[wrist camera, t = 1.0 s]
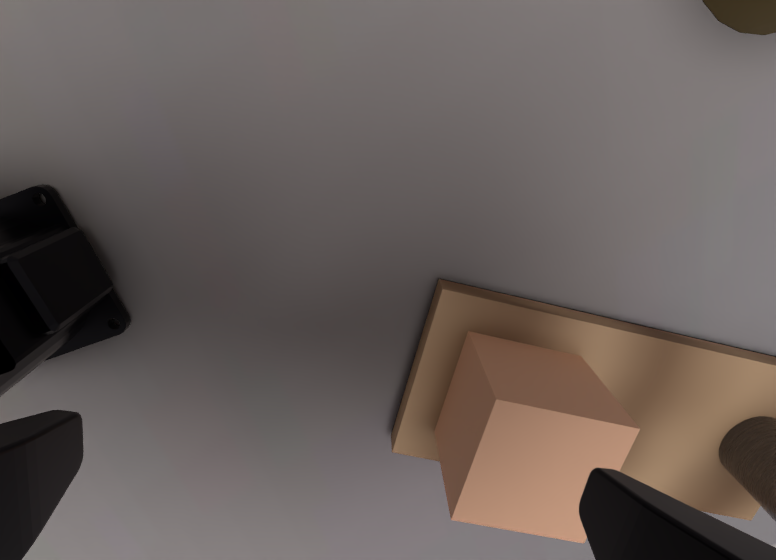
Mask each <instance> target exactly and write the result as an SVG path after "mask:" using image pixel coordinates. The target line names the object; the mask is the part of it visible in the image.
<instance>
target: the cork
mask: <svg viewBox="0 0 776 560" xmlns="http://www.w3.org/2000/svg"><path fill="white" fill-rule="evenodd" d="M703 2H704V3H705V4H706V6H707V7H708V8H709V9H710V11H711V12H712V13H713V14H714V16H715V17H716V18H717V19H718V21H720V22H722V23H724V24H725V25H727V26H729V27H731V28H733V29H735V30H736V31H738V32H741V33H750V34H759V35H767V34H771V33H775V32H776V0H703Z"/></svg>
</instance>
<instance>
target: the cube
mask: <svg viewBox="0 0 776 560" xmlns="http://www.w3.org/2000/svg"><path fill="white" fill-rule="evenodd" d="M639 431H640V428H639V427H638V426H637V424H636V423H635V422H634V421H633V419H632V418H631V417H630V416H629V415H628V413H627V412H626V411H625V410H624V408H623V407H622V406H621V405H620V403H619V402H618V401H617V400H616V398H615V397H614V396H613V395H612V393H611V392H610V391H609V390H608V389H607V387H606V386H605V385H604V384H603V382H602V381H601V380H600V379H599V377H598V376H597V375H596V374H595V372H594V371H593V370H592V369H591V367H590V366H589V365H588V364H587V363H586V361H585V360H584V359H583V358H582V356H578V355H574V354H569V353H564V352H560V351H555V350H551V349H546V348H542V347H537V346H533V345H528V344H524V343H519V342H515V341H510V340H506V339H501V338H497V337H492V336H488V335H483V334H479V333H474V332H470V331H468V333H467V336H466V339H465V342H464V345H463V348H462V351H461V354H460V357H459V360H458V363H457V366H456V369H455V371H454V374H453V377H452V380H451V383H450V386H449V389H448V392H447V395H446V398H445V401H444V404H443V407H442V410H441V413H440V416H439V419H438V422H437V425H436V428H435V431H434V433H435V438H436V443H437V448H438V454H439V459H440V464H441V469H442V475H443V480H444V485H445V490H446V496H447V501H448V506H449V511H450V517H451V520H455V521H460V522H466V523H472V524H477V525H483V526H489V527H494V528H500V529H505V530H511V531H517V532H522V533H528V534H534V535H539V536H545V537H551V538H556V539H562V540H567V541H573V542H579V543H584V542H585V540H586V538H587V536H586V533H585V530H584V528H583V525H582V522H581V520H580V516H579V503H580V499H581V496H582V494H583V491H584V488H585V485H586V482H587V480H588V477H589V474H590V472H591V471H592V470H593V469H594V468H607V469H614V470H617V471H620V469H621V467H622V465H623V463H624V461H625V459H626V457H627V455H628V453H629V451H630V449H631V447H632V445H633V443H634V441H635V439H636V437H637V435H638V433H639Z"/></svg>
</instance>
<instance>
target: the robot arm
mask: <svg viewBox="0 0 776 560" xmlns="http://www.w3.org/2000/svg"><path fill="white" fill-rule="evenodd" d="M39 193H41V194H43V195H44V196H45V198H46V204H44V203H42V202H41V201H40V200H39ZM112 285H113V284H112V282H111V280H110V278H109V277H108V275H107V273H106V271H105V270H104V268H103V266H102V265H101V263H100V261H99V259H98V258H97V256H96V254H95V253H94V251H93V249H92V247H91V246H90V244H89V242H88V241H87V239H86V237H85V235H84V234H83V232H82V231H81V230H79V229H78V228H77V226H76V225H75V223H74V221H73V220H72V218H71V216H70V214H69V213H68V211H67V209H66V208H65V206H64V204H63V202H62V201H61V199H60V197H59V196H58V194H57V192H56V191H55V190H54V189H53V188H51V187H50V186H47V185H38V186H34V187H31V188H28V189H26V190H23V191H20V192H18V193H15V194H13V195H10V196H8V197H5V198H2V199H0V396H2V395H3V394H4V393H5V392H7V391H8V390H9V389H10V388H11V387H13V386H14V385H15V384H16V383H18V382H19V381H20V380H21V379H22V378H24V377H25V376H26V375H27V374H29V373H30V372H31V371H32V370H33V369H35V368H36V367H37V366H38V365H40V364H41V363H42V362H43V361H45V360H48V359H51V358H54V357H57V356H59V355H62V354H65V353H68V352H71V351H74V350H76V349H79V348H82V347H85V346H88V345H90V344H93V343H96V342H99V341H102V340H105V339H107V338H110V337H113V336H116V335H119V334H121V333H122V332H124V331H125V330H126V329H127V328H128V327H129V325H130V318H129V315H128V314H127V312H126V310H125V309H124V307H123V305H122V303H121V302H120V300H119V298H118V297H117V295H116V293H115V291H114V290H113V288H112ZM112 318H115V319H117V320H118V321H119V322H120V325H116V324H114V323H113V321H112ZM82 459H83V427H82V418H81V415H80V414H79V413H77V412H72V411H63V410H52V411H48V412H44V413H40V414H36V415H33V416H29V417H25V418H21V419H17V420H13V421H10V422H6V423H2V424H0V560H22V558H23V557H24V556H25V554H26V553H27V552H28V550H29V549H30V547H31V546H32V545H33V543H34V542H35V540H36V539H37V537H38V536H39V534H40V533H41V531H42V529H43V528H44V526H45V524H46V523H47V521H48V520H49V518H50V516H51V515H52V513H53V511H54V510H55V508H56V506H57V505H58V503H59V502H60V500H61V498H62V497H63V495H64V493H65V492H66V490H67V488H68V487H69V485H70V484H71V482H72V480H73V479H74V477H75V475H76V474H77V472H78V470H79V468H80V466H81V463H82ZM579 516H580V520H581V522H582V525H583V528H584V530H585V533H586V536H587V538H588V541H589V544H590V546H591V549H592V551H593V554H594V557H595V559H596V560H776V548H775V547H773V546H771V545H769V544H767V543H765V542H763V541H761V540H759V539H756V538H754V537H752V536H750V535H748V534H746V533H744V532H742V531H740V530H738V529H736V528H734V527H732V526H730V525H728V524H726V523H724V522H722V521H720V520H718V519H716V518H714V517H712V516H709V515H707V514H705V513H703V512H701V511H699V510H697V509H695V508H693V507H691V506H689V505H687V504H685V503H683V502H681V501H679V500H677V499H675V498H673V497H671V496H669V495H667V494H664V493H662V492H660V491H658V490H656V489H654V488H652V487H650V486H648V485H646V484H644V483H642V482H640V481H638V480H636V479H634V478H632V477H630V476H628V475H626V474H624V473H622V472H619V471H617V470H614V469H607V468H594V469H593V470H592V471H591V472H590V474H589V477H588V480H587V482H586V485H585V488H584V491H583V494H582V496H581V499H580V503H579Z"/></svg>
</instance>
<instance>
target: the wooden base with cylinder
mask: <svg viewBox="0 0 776 560" xmlns="http://www.w3.org/2000/svg"><path fill="white" fill-rule="evenodd" d="M468 331H470V332H474V333H479V334H483V335H488V336H492V337H497V338H501V339H506V340H510V341H515V342H519V343H524V344H528V345H533V346H537V347H542V348H546V349H551V350H555V351H560V352H564V353H569V354H574V355H578V356H582V358H583V359H584V360H585V361H586V363H587V364H588V365H589V366H590V367H591V369H592V370H593V371H594V372H595V374H596V375H597V376H598V377H599V379H600V380H601V381H602V382H603V384H604V385H605V386H606V387H607V389H608V390H609V391H610V392H611V393H612V395H613V396H614V397H615V398H616V400H617V401H618V402H619V403H620V405H621V406H622V407H623V408H624V410H625V411H626V412H627V413H628V415H629V416H630V417H631V418H632V419H633V421H634V422H635V423H636V424H637V426H638V427H639V428H640V431H639V433H638V435H637V437H636V439H635V441H634V443H633V445H632V447H631V449H630V451H629V453H628V455H627V457H626V459H625V461H624V463H623V465H622V467H621V469H620V471H619V472H622V473H624V474H626V475H628V476H630V477H632V478H634V479H636V480H638V481H640V482H642V483H644V484H646V485H648V486H650V487H652V488H654V489H656V490H658V491H660V492H662V493H664V494H667V495H669V496H671V497H673V498H675V499H677V500H679V501H681V502H683V503H685V504H687V505H689V506H691V507H693V508H695V509H697V510H699V511H704V512H709V513H714V514H719V515H725V516H730V517H735V518H740V519H746V520H752V518H753V517H754V515H755V514H756V512H757V510H758V509H759V507H760V505H761V506H762V507H763V509H764V510H765V511H766V512H767V513H768V514H769V515H770V516H771V517H772V518H773V519H774V520H775V521H776V357H773V356H769V355H765V354H760V353H756V352H752V351H747V350H743V349H739V348H735V347H730V346H726V345H722V344H717V343H713V342H709V341H704V340H700V339H696V338H692V337H687V336H683V335H679V334H674V333H670V332H666V331H661V330H657V329H653V328H648V327H644V326H640V325H636V324H631V323H627V322H623V321H618V320H614V319H610V318H605V317H601V316H597V315H593V314H588V313H584V312H580V311H575V310H571V309H567V308H562V307H558V306H554V305H549V304H545V303H541V302H537V301H532V300H528V299H524V298H519V297H515V296H511V295H506V294H502V293H498V292H494V291H489V290H485V289H481V288H476V287H472V286H468V285H463V284H459V283H455V282H450V281H446V280H442V279H439V280H438V283H437V287H436V290H435V293H434V296H433V300H432V303H431V306H430V309H429V313H428V316H427V319H426V323H425V326H424V329H423V332H422V336H421V339H420V342H419V346H418V349H417V352H416V355H415V359H414V362H413V365H412V369H411V372H410V375H409V378H408V382H407V385H406V388H405V392H404V395H403V398H402V401H401V405H400V408H399V411H398V414H397V418H396V421H395V424H394V428H393V431H392V434H391V442H392V452H394V453H399V454H404V455H409V456H415V457H420V458H425V459H430V460H436V461H440V459H439V454H438V448H437V443H436V438H435V433H434V431H435V428H436V425H437V422H438V419H439V416H440V413H441V410H442V407H443V404H444V401H445V398H446V395H447V392H448V389H449V386H450V383H451V380H452V377H453V374H454V371H455V369H456V366H457V363H458V360H459V357H460V354H461V351H462V348H463V345H464V342H465V339H466V336H467V333H468Z"/></svg>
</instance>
